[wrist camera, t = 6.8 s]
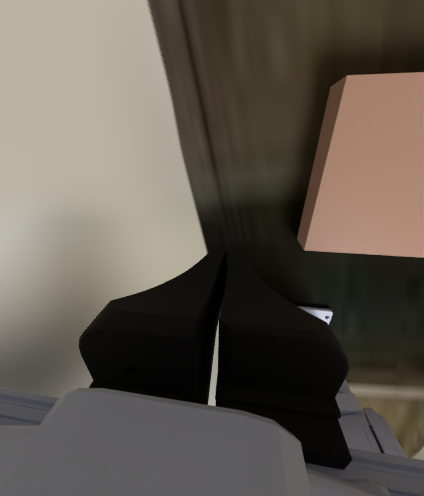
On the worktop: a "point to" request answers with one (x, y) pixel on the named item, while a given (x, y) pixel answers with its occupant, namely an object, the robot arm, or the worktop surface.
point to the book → (369, 169)
